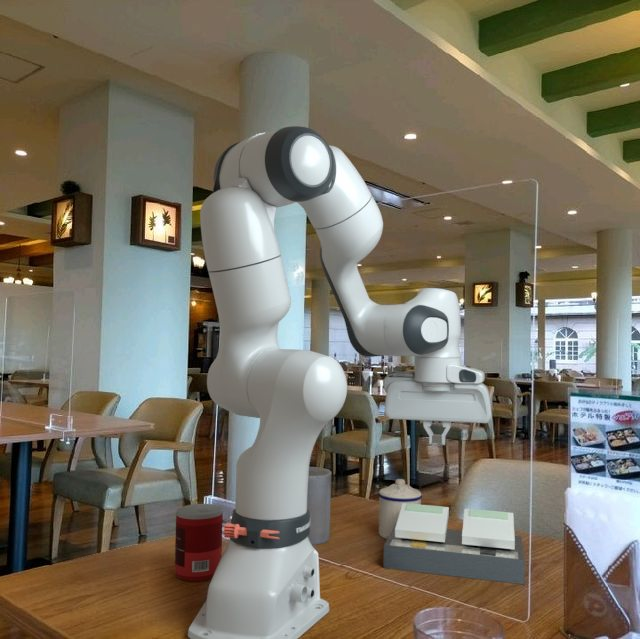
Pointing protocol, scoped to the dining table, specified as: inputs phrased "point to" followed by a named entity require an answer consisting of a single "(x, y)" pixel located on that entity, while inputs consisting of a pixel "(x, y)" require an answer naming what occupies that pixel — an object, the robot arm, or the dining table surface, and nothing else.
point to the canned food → (198, 541)
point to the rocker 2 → (488, 529)
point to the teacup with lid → (394, 504)
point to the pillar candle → (319, 504)
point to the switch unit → (455, 558)
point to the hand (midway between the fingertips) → (437, 444)
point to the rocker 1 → (422, 522)
